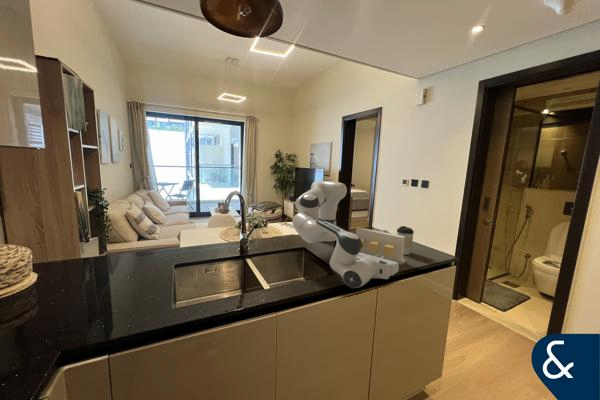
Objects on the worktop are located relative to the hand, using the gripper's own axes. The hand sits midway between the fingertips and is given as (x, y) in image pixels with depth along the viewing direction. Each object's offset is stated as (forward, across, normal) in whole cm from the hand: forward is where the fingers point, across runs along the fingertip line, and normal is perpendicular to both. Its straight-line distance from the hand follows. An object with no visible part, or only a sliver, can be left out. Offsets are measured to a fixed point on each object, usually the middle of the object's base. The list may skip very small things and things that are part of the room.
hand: (380, 257), depth 116 cm
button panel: (+18, -8, -7) cm, 22 cm away
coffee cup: (+35, +1, -8) cm, 36 cm away
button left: (+14, -16, -2) cm, 22 cm away
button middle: (+14, -8, -2) cm, 17 cm away
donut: (+40, -13, -8) cm, 43 cm away
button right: (+14, 0, -2) cm, 14 cm away
